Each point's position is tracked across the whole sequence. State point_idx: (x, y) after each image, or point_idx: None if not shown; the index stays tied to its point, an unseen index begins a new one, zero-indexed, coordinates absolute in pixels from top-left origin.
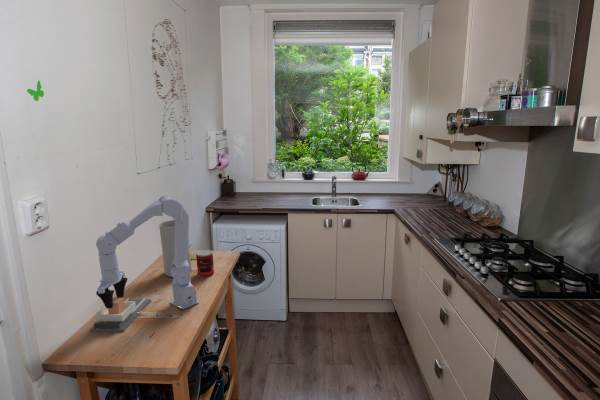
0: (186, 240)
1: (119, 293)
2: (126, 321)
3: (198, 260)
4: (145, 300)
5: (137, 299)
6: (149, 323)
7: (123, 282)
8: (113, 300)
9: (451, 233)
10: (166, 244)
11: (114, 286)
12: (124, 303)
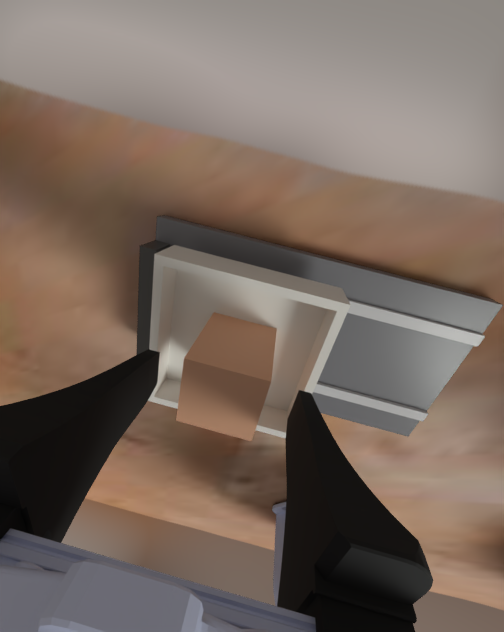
0: None
1: (294, 435)
2: None
3: None
4: (405, 418)
5: (443, 384)
6: (203, 429)
7: (282, 593)
8: (219, 392)
9: None
10: None
11: (314, 476)
12: (303, 385)
